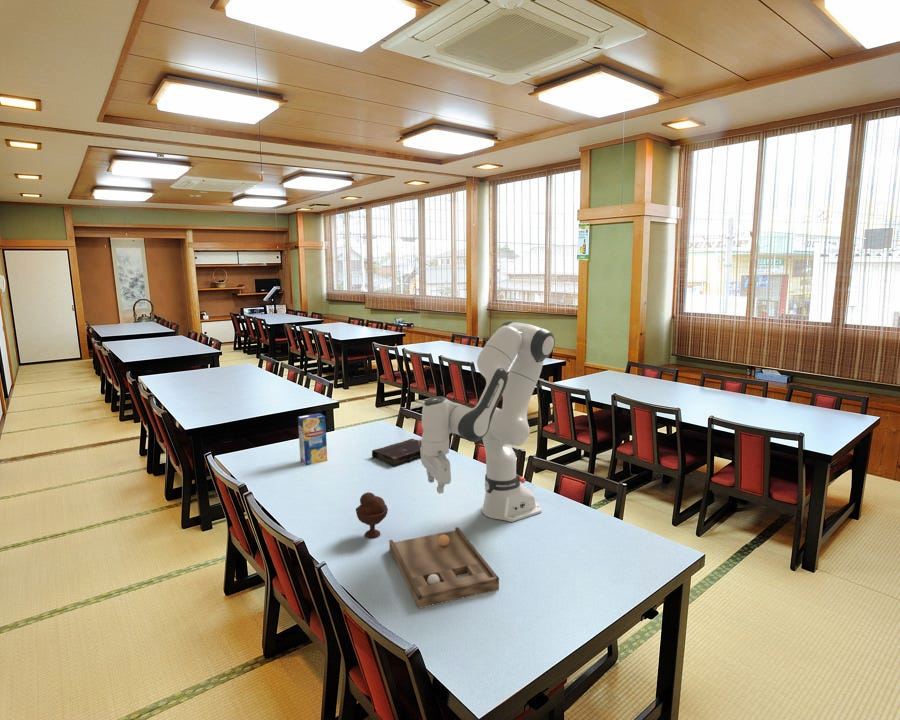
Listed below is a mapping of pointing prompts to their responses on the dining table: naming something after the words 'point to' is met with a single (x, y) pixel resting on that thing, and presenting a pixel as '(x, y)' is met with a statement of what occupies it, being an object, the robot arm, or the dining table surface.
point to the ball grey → (433, 579)
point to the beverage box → (312, 439)
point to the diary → (399, 453)
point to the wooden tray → (442, 568)
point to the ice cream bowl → (371, 513)
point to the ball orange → (443, 540)
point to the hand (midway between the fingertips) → (435, 487)
